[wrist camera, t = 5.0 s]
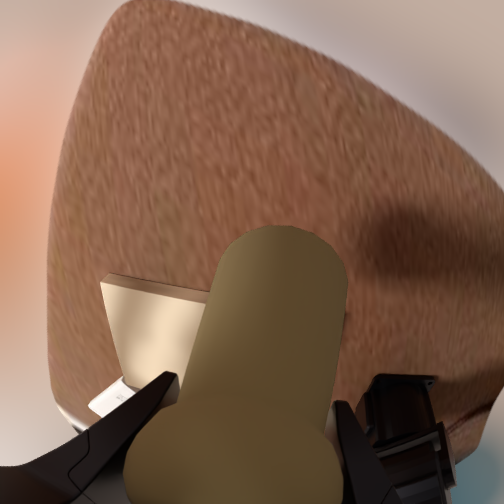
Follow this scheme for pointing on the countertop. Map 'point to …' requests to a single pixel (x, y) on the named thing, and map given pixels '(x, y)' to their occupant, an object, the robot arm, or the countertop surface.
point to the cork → (253, 384)
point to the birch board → (151, 326)
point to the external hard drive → (112, 397)
